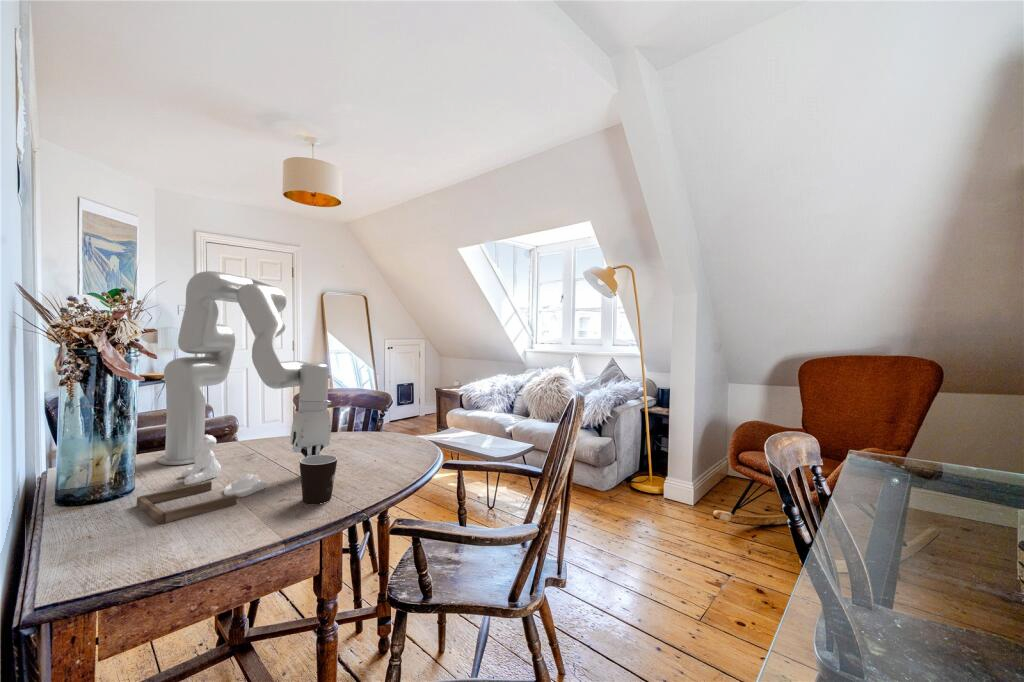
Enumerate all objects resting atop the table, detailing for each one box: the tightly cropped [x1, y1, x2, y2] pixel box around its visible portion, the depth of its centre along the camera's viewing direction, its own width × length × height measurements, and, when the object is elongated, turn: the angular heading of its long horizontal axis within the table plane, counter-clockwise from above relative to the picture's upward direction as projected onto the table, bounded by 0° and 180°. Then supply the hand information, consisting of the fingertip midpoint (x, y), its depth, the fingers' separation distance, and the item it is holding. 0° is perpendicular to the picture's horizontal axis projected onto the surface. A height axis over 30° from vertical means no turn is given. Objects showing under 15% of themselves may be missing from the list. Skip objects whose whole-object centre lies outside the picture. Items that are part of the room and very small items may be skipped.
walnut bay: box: [136, 481, 238, 525], centre depth 99 cm, size 15×14×2 cm
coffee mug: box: [298, 454, 339, 505], centre depth 107 cm, size 12×9×10 cm
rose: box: [223, 473, 269, 498], centre depth 110 cm, size 10×4×10 cm
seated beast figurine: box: [180, 433, 222, 486], centre depth 117 cm, size 10×9×12 cm
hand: (310, 469), depth 124 cm, fingers closed
